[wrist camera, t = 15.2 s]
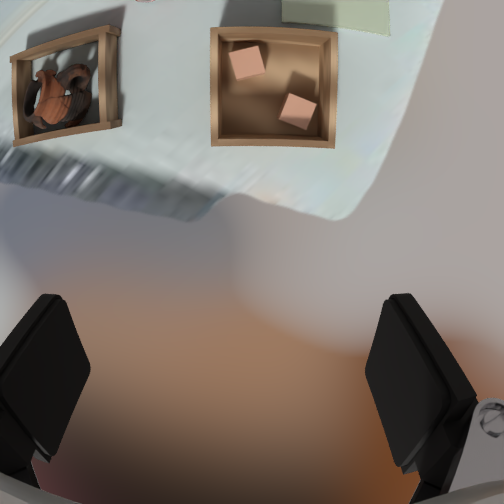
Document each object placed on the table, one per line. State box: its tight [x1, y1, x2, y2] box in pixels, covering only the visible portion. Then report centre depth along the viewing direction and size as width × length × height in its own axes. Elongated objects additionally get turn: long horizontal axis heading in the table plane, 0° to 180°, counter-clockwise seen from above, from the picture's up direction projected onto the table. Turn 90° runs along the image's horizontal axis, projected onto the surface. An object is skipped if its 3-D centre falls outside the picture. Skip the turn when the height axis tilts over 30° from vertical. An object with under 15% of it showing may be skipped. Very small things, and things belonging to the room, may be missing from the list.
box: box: [210, 27, 338, 149], centre depth 35 cm, size 14×14×7 cm
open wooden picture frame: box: [10, 24, 122, 147], centre depth 34 cm, size 14×17×4 cm
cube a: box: [229, 46, 266, 81], centre depth 34 cm, size 4×4×4 cm
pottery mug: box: [23, 64, 92, 129], centre depth 34 cm, size 12×10×8 cm
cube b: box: [277, 93, 317, 130], centre depth 37 cm, size 4×4×4 cm
